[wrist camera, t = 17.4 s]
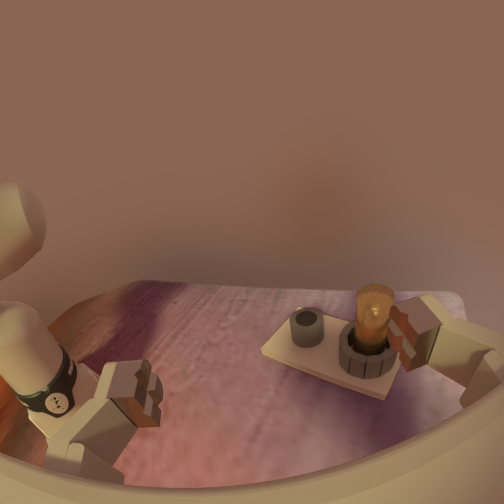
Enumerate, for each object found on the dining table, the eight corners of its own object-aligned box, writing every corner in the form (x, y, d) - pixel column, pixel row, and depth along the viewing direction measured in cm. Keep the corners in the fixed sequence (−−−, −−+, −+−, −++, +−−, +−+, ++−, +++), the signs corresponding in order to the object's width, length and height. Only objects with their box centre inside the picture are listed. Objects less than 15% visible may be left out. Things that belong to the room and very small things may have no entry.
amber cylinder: (347, 362, 39) (351, 302, 34) (358, 340, 43) (364, 280, 37) (376, 371, 36) (389, 311, 31) (386, 348, 40) (398, 288, 34)
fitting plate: (262, 354, 47) (256, 331, 44) (299, 312, 54) (296, 289, 52) (384, 400, 33) (391, 378, 30) (408, 344, 41) (414, 319, 38)
